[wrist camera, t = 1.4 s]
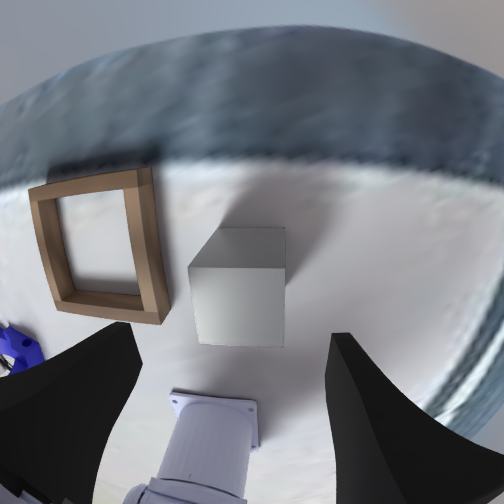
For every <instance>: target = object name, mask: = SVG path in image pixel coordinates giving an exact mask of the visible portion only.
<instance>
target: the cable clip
mask: <svg viewBox="0 0 504 504" xmlns="http://www.w3.org/2000/svg"><path fill="white" fill-rule="evenodd" d="M0 354H5V355H9V356H11V357H13V358H14V359H15V362H14V365H13V368H12V370H11V371H10V373H9V374H8V375H11V374H14V373H17V372H20V371H23V370H26V369H28V368H31V367H33V366H36V365H38V364H40V363H42V362H44V361H45V360H44V357H43V354H42V352H41V349H40V346H39V343H38V342H36V341H34V340H32V339H31V338H29V337H27V336H25V335H24V334H22V333H20V332H18V331H17V330H15V329H13V328H12V327H10V326H9V327H8V328H6V329H5V330H3V329H2V328H0ZM8 375H7V376H8Z"/></svg>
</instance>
